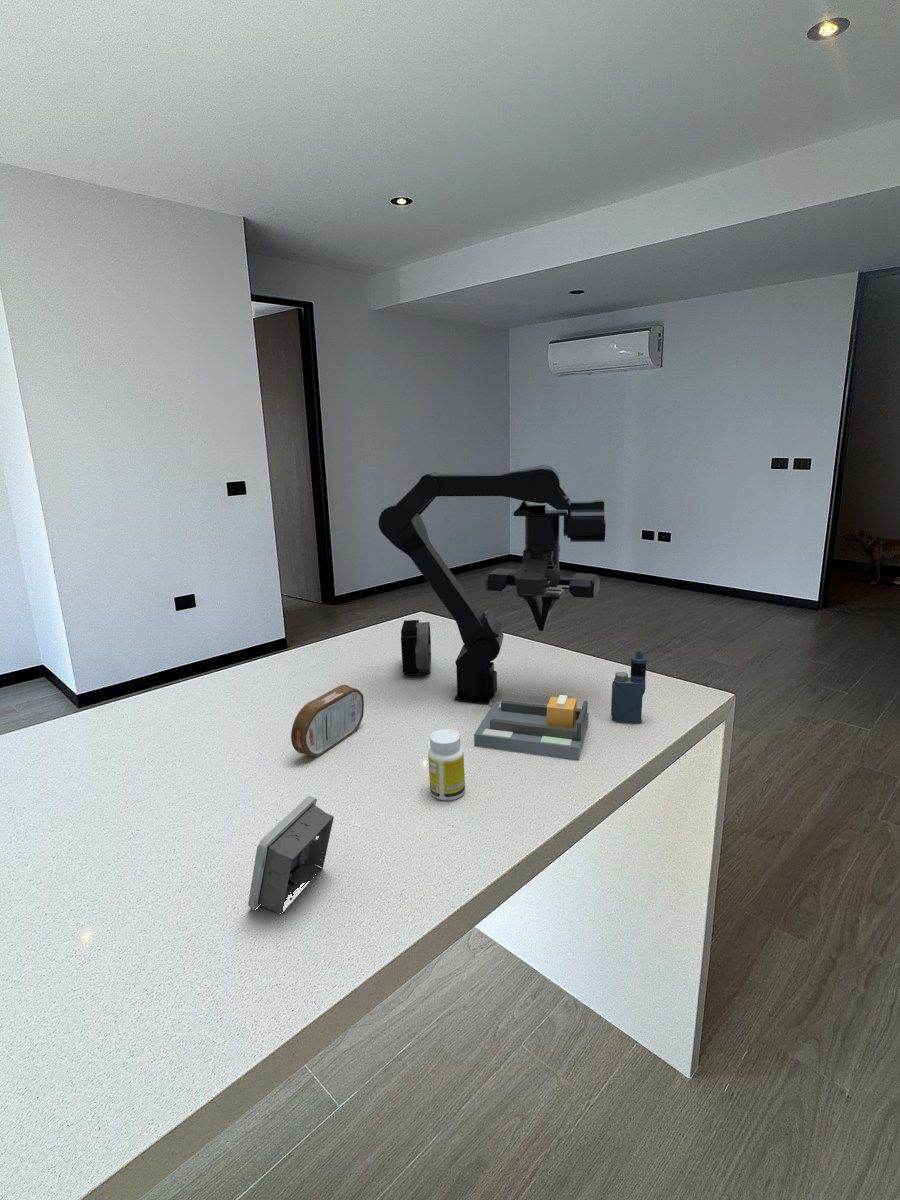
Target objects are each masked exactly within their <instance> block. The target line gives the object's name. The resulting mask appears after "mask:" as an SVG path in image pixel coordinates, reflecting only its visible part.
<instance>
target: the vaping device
mask: <svg viewBox="0 0 900 1200" xmlns="http://www.w3.org/2000/svg"><path fill="white" fill-rule="evenodd" d="M643 654H644V653H643V652H642V651H638V650H637V651H636V652H635V655H632V656H631V659H630V662H631V663H630V676H629V674H628V673H627V672H625V671H617V672H615V675H614V678H613V681H612V685H611V686H612V687H611V703H610V705H611V708H610V712H611V713H610V715H611V718H612V720H613V722H615V723H618V722H619V723H623V724H642V722H643V721H642V720H643V719H642V716H643V715H642V713H643V709H642V708H643V696H644V695H645V693H646V689H647V688H646V676H647V674H646V673H647V657H646V656H644V655H643Z"/></svg>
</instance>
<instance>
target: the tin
mask: <svg viewBox="0 0 900 1200" xmlns="http://www.w3.org/2000/svg"><path fill="white" fill-rule="evenodd" d="M364 698H365V697H364V695H363V693H362V692H361V690H359V689H358V688H354V687H352V686H349V685H347V684H341V685H338V686H336V687H334V688H332V689H331V690H329V691H328V692H325V693H324V694H322V695H319V696H318V697H316V698H314V699H313V700H310V701H308V702H307V703H306V704H304V705H303V706H302V707H301V709H300V710H299V711H298V712H297V715H296V716H295V718H294V721H293V723H292V727H291V731H290V741H291V745H292V747H293V749H294V750H295V751H296V752H297V753H299V754H304V755H306V756H309V757H312V758H313V757H319V756H322V755H323V754H325V753H326V752H328V751H329V750H331V749H332V748H334V747H336V746H337V745H339V744H340V743H341V742H343V741H344V740H346V739H347V738H348V737H350V736H352V735H354V733H355V732H356V730H358V728H359V726H360V724H361V722H362V720H363V717H364V710H365V700H364ZM321 754H322V755H321Z"/></svg>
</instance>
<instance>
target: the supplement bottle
mask: <svg viewBox="0 0 900 1200" xmlns="http://www.w3.org/2000/svg"><path fill="white" fill-rule="evenodd" d="M429 740H430V741H429V742H430V743H429V744H430V747H429V749H428V752H427V754H428V757H427V758H428V772H429V773H428V777H429V778H428V779H429V791H430V794H431V795H432V797H433V798H434V799H436V800H440V801H455V800H457V799H459V798H461V797H462V796H463V795H464V793H465V790H466V782H465V780H466V779H465V758H464V749H463V747H462V746H461V744H462V743H461V736H460V733H459V732H458V731H457V730H454V729H449V728H448V729H447V728H446V729H445V728H444V729H439V730H438V729H437V730H436V731H434V732H432V733H431V734H430V737H429Z"/></svg>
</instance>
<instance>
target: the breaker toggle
mask: <svg viewBox="0 0 900 1200" xmlns="http://www.w3.org/2000/svg"><path fill="white" fill-rule="evenodd" d="M577 704H578V700H577V698H571V697H569V698H568V695H566V694H559V695H558V696H551V697H550V698H549V701H548V703H547V705H548V706H547V725H550V726H558V727H566V728H575V725H576V711H577V707H578V706H577Z"/></svg>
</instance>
